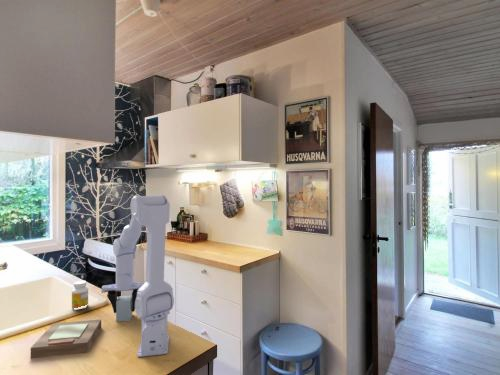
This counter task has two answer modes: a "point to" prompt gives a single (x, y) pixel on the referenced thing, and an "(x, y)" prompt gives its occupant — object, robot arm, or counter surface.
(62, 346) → the walnut stand
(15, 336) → the counter surface
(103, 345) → the counter surface
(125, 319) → the slate block
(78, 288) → the supplement bottle
